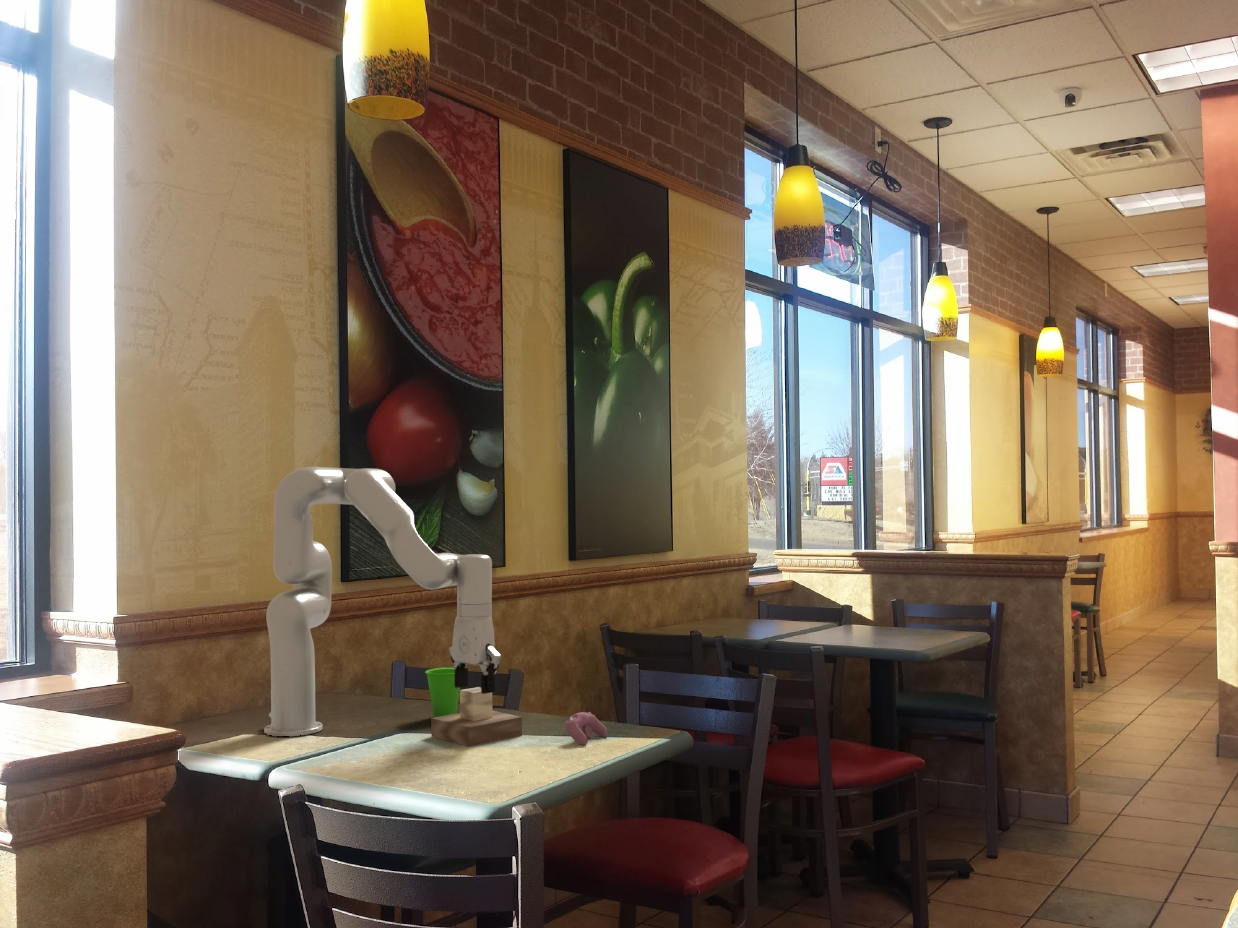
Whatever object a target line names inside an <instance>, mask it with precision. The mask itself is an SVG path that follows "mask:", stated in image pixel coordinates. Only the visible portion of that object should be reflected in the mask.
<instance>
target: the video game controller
mask: <svg viewBox="0 0 1238 928" xmlns="http://www.w3.org/2000/svg"><path fill="white" fill-rule="evenodd" d="M564 730H565V732H566V733H567V734H568V735H569V736H570V737H571V738H572V739H573V740H574V741H575V742H576V743H577V744H579V745H580V746H587V744H588V741H589V740H588V739H590V738H592V736H593V733H594V734H596V735H597V736H598V737H601V738H606V737H608V734H609V732H608V729H607V727H606V726H605V725H604V724H603V723H602V722H601V721H600V720H599V719H598V718H597V717H596V716H595V714H592V713H591V711H588V712H585V711H581V712H580V711H579V712H576V713H574V714H572V715H571V716H569V718H568V719H567V720H566V721H565V722H564Z"/></svg>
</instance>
